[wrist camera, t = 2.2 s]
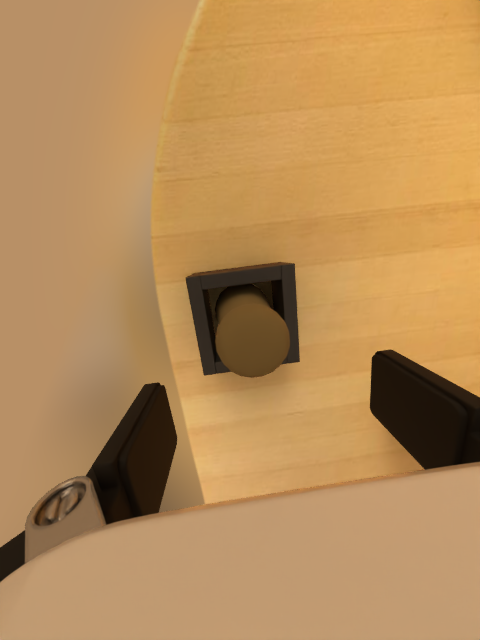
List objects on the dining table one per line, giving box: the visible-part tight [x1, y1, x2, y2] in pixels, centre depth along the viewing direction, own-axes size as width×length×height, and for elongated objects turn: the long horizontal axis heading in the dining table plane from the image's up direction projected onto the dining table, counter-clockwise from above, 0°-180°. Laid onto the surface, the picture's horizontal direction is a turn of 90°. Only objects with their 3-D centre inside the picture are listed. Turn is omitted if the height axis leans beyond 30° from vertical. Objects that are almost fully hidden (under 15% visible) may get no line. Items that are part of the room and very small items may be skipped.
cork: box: [215, 284, 290, 377], centre depth 19 cm, size 6×6×11 cm
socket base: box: [186, 262, 300, 375], centre depth 22 cm, size 9×9×5 cm
